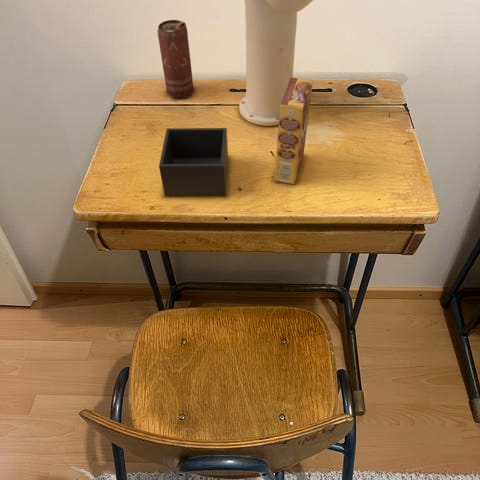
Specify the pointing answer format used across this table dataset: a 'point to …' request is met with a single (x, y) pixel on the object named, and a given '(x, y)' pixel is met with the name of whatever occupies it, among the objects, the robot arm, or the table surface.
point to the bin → (194, 162)
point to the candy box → (292, 129)
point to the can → (176, 58)
